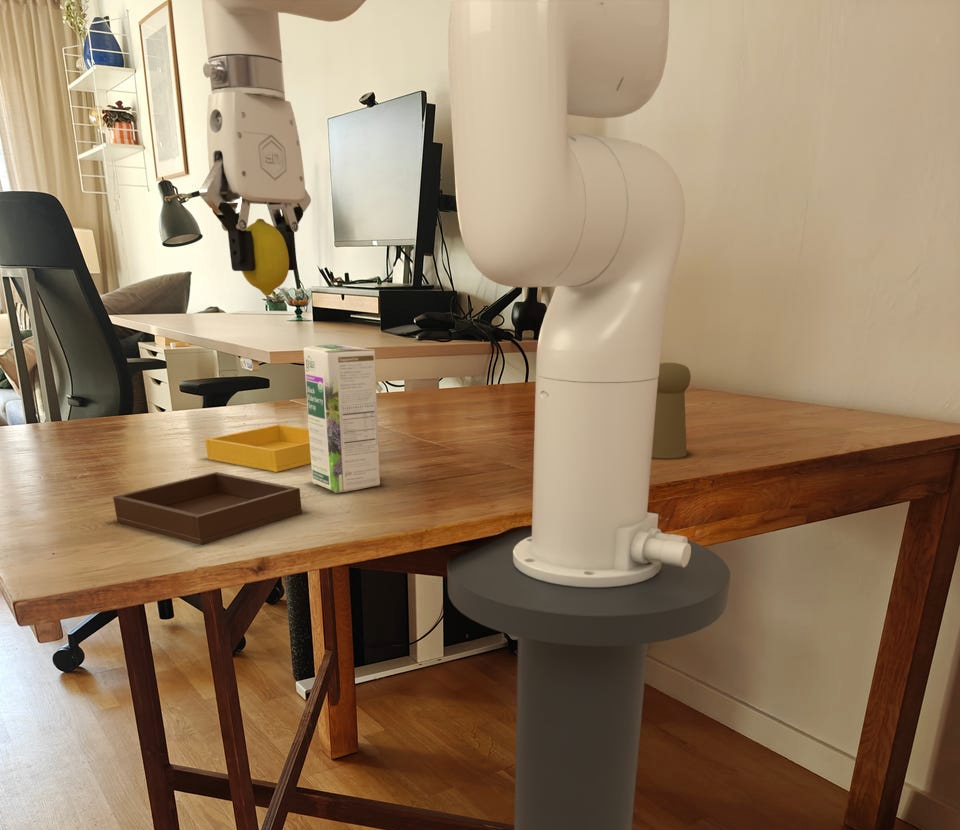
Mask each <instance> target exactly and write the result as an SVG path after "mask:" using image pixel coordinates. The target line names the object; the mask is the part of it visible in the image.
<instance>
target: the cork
mask: <svg viewBox="0 0 960 830" xmlns="http://www.w3.org/2000/svg"><path fill="white" fill-rule="evenodd" d="M691 377H692V376H691V371H690V369H689V367H688V366H687V365H685V364H681V363H677V362H660V366H659V376H658V385H657V397H656V410H655V422H654V434H653V446H652V458H653V459H667V460H668V459H669V460H670V459H681V458H684V457H686V456H687V455H688V454H687V426H686V398H685V397H686V396H685V392H686V391H687V389H688V388H689V386H690V383H691Z"/></svg>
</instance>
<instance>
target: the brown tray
mask: <svg viewBox="0 0 960 830" xmlns="http://www.w3.org/2000/svg"><path fill="white" fill-rule="evenodd" d="M300 489H301V488H300V487H295V486H289V485H285V484H280V483H276V482H275V483H274V482H270V481H265V480H260V479H254V478H249V477H245V476H239V475H235V474H234V475H233V474H228V473H223V472H220V471H219V472H218V471H214V472H209V473H205V474H202V475H197V476H192V477H189V478H185V479H181V480H176V481H173V482H168V483H164V484H160V485H156V486H151V487H147V488H143V489H139V490H135V491H130V492H127V493H123V494H119V495H113V496H112V499H113V500H112V501H113V506H114V510H115V516H116V521H117V523H119V524H123V525H127V526H131V527H134V528H137V529H141V530H145V531H149V532H153V533H156V534H160V535H163V536H164V535H165V536H168V537H171V538H176V539H180V540H182V541H187V542H191V543H195V544H199V545H205V544H208V543H211V542H214V541H218V540H220V539H223V538H227V537H230V536H233V535H236V534H240V533H243V532H246V531H249V530H252V529H255V528H259V527H262V526H265V525H269V524H271V523H275V522H278V521H281V520H284V519H288V518H291V517H294V516H296V515H300V514H302V511H303V510H302V499H301V490H300Z"/></svg>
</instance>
